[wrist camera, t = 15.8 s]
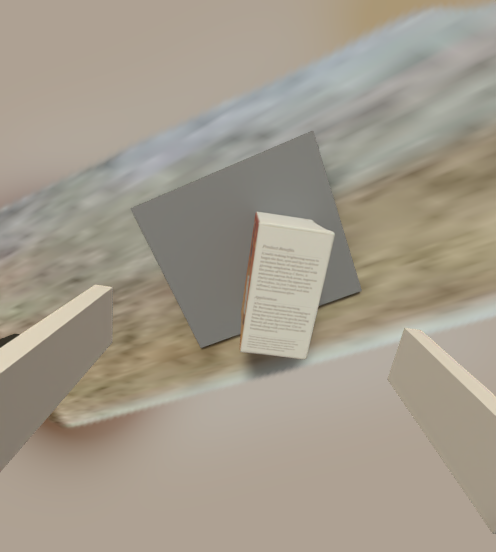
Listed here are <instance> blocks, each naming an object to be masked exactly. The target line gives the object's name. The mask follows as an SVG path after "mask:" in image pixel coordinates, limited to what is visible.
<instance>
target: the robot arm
mask: <svg viewBox="0 0 496 552" xmlns="http://www.w3.org/2000/svg"><path fill="white" fill-rule="evenodd" d="M112 315H113V287H108V286H100V285H94V286H93V287H91V288H90V289H88V290H87V291H85V292H84V293H82V294H81V295H79V296H78V297H76V298H75V299H73V300H72V301H70V302H69V303H67V304H66V305H64V306H63V307H61V308H60V309H58V310H57V311H55V312H54V313H52V314H50V315H49V316H47V317H46V318H44V319H43V320H41V321H40V322H38V323H37V324H35V325H34V326H32V327H31V328H29V329H28V330H26V331H25V332H23V333H22V334H13V335H10V336H7V337H5V338H2V339H0V472H1V471H2V470H3V468H4V467H5V466H6V465H7V464H8V463H9V461H10V460H11V459H12V458H13V457H14V456H15V454H16V453H17V452H18V451H19V450H20V449H21V448H22V446H23V445H24V444H25V443H26V442H27V441H28V439H29V438H30V437H31V436H32V435H33V434H34V432H35V431H36V430H37V429H38V428H39V427H40V426H41V424H42V423H43V422H44V421H45V420H46V419H47V417H48V416H49V415H50V414H51V413H52V412H53V410H54V409H55V408H56V407H57V406H58V405H59V404H60V402H61V401H62V400H63V399H64V398H65V397H66V395H67V394H68V393H69V392H70V391H71V390H72V388H73V387H74V386H75V385H76V384H77V383H78V382H79V380H80V379H81V378H82V377H83V376H84V375H85V373H86V372H87V371H88V370H89V369H90V368H91V366H92V365H93V364H94V363H95V362H96V361H97V360H98V358H99V357H100V356H101V355H102V354H103V353H104V351H105V350H106V349H107V348H108V347H109V346H110V344H111V343H112ZM388 381H389V382H390V384H391V385H392V387H393V388H394V390H395V391H396V393H397V394H398V396H399V397H400V399H401V400H402V401H403V403H404V404H405V406H406V407H407V409H408V410H409V412H410V413H411V415H412V416H413V418H414V419H415V420H416V422H417V423H418V425H419V426H420V428H421V429H422V431H423V432H424V433H425V435H426V437H427V438H428V440H429V441H430V443H431V444H432V445H433V447H434V448H435V450H436V451H437V453H438V454H439V456H440V457H441V459H442V460H443V462H444V463H445V464H446V466H447V467H448V469H449V470H450V472H451V473H452V475H453V476H454V478H455V479H456V481H457V482H458V483H459V485H460V486H461V488H462V489H463V491H464V492H465V494H466V495H467V497H468V498H469V500H470V501H471V503H472V504H473V506H474V507H475V508H476V510H477V511H478V513H479V514H480V516H481V517H482V519H483V520H484V522H485V523H486V525H487V526H488V528H489V529H490V531H491V532H492V533H493V534H496V396H495V395H494V394H493V393H492V392H490V391H489V390H488V389H487V388H486V387H485V386H484V385H482V384H481V383H480V382H479V381H478V380H477V379H475V377H473V376H472V375H471V374H470V373H469V372H468V371H467V370H466V369H464V368H463V367H462V366H461V365H460V364H459V363H458V362H456V361H455V360H454V359H453V358H452V357H451V356H449V354H447V353H446V352H445V351H444V350H443V349H441V348H440V347H439V346H438V345H437V344H436V343H435V342H434V341H433V340H432V339H430V338H429V337H428V336H427V335H426V334H425V333H424V332H423V331H421V330H416V329H409V328H404V331H403V334H402V337H401V340H400V343H399V346H398V349H397V352H396V355H395V358H394V361H393V364H392V367H391V370H390V373H389V376H388Z"/></svg>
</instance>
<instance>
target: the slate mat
mask: <svg viewBox="0 0 496 552" xmlns="http://www.w3.org/2000/svg"><path fill="white" fill-rule="evenodd" d="M131 210H132V212H133V214H134V216H135V218H136V220H137V222H138V224H139V226H140V228H141V230H142V232H143V234H144V236H145V238H146V240H147V242H148V244H149V246H150V248H151V250H152V252H153V254H154V256H155V258H156V260H157V262H158V264H159V266H160V268H161V270H162V272H163V274H164V276H165V278H166V280H167V282H168V284H169V286H170V288H171V290H172V292H173V294H174V296H175V298H176V300H177V302H178V304H179V306H180V308H181V310H182V312H183V314H184V316H185V318H186V319H187V321H188V323H189V325H190V327H191V329H192V331H193V333H194V335H195V337H196V339H197V341H198V343H199V345H200V347H201V348H202V347H205V346H208V345H211V344H213V343H216V342H219V341H222V340H225V339H227V338H230V337H233V336H236V335H239V334H241V309H242V302H243V295H244V288H245V281H246V275H247V268H248V261H249V255H250V248H251V241H252V234H253V227H254V220H255V213H256V212H263V213H270V214H277V215H283V216H290V217H297V218H303V219H310V220H313V221H314V222H315V223H316V224H318V225H319V226H321V227H323V228H325V229H326V230H330V231H332V232H334V234H335V237H334V241H333V245H332V250H331V254H330V258H329V263H328V267H327V271H326V276H325V280H324V284H323V289H322V293H321V297H320V302H319V306H320V305H323V304H326V303H329V302H331V301H334V300H337V299H340V298H343V297H345V296H348V295H351V294H354V293H357V292H359V291H362V290H361V287H360V283H359V280H358V277H357V273H356V270H355V267H354V264H353V260H352V257H351V254H350V250H349V247H348V244H347V241H346V237H345V234H344V231H343V227H342V224H341V221H340V218H339V214H338V211H337V208H336V204H335V201H334V198H333V195H332V191H331V188H330V185H329V181H328V178H327V175H326V171H325V168H324V165H323V162H322V158H321V155H320V152H319V148H318V145H317V142H316V139H315V135H314V132H313V131H311V132H308V133H306V134H304V135H301V136H299V137H297V138H294V139H292V140H290V141H287V142H285V143H283V144H280V145H278V146H276V147H273V148H271V149H269V150H266V151H264V152H262V153H259V154H257V155H255V156H252V157H250V158H248V159H245V160H243V161H240V162H238V163H236V164H233V165H231V166H229V167H226V168H224V169H222V170H219V171H217V172H215V173H212V174H210V175H208V176H205V177H203V178H201V179H198V180H196V181H194V182H191V183H189V184H187V185H184V186H182V187H180V188H177V189H175V190H173V191H170V192H168V193H166V194H163V195H161V196H158V197H156V198H154V199H151V200H149V201H147V202H144V203H142V204H140V205H137V206H135V207H133V208H131Z"/></svg>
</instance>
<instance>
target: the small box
mask: <svg viewBox="0 0 496 552" xmlns="http://www.w3.org/2000/svg"><path fill="white" fill-rule="evenodd" d="M334 237H335V234H334V232H332V231H330V230H326V229H325V228H323V227H321V226H319V225H318V224H316V223H315V222H314V221H313V220H310V219H303V218H297V217H290V216H283V215H277V214H270V213H263V212H256V213H255V220H254V227H253V234H252V241H251V248H250V255H249V261H248V268H247V275H246V281H245V288H244V295H243V302H242V309H241V334H240V352H246V353H255V354H264V355H272V356H279V357H287V358H295V359H306V358H307V353H308V349H309V345H310V341H311V337H312V332H313V328H314V323H315V319H316V314H317V310H318V306H319V302H320V297H321V293H322V289H323V284H324V280H325V276H326V271H327V267H328V263H329V258H330V254H331V250H332V245H333V241H334Z"/></svg>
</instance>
